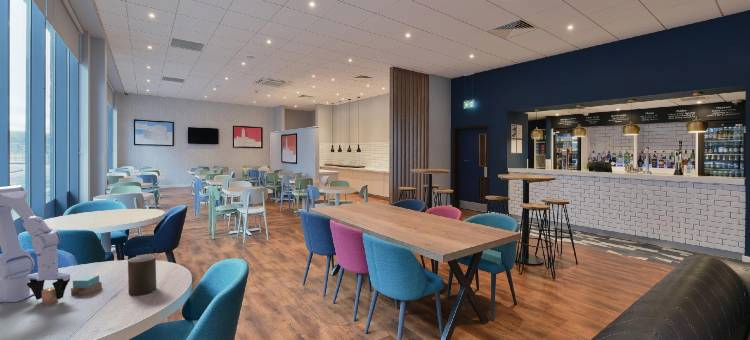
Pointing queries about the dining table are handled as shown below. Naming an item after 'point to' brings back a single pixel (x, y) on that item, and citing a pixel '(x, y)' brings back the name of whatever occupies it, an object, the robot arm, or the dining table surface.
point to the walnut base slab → (86, 290)
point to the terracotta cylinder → (49, 296)
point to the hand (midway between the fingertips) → (49, 298)
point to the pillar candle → (141, 275)
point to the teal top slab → (86, 281)
